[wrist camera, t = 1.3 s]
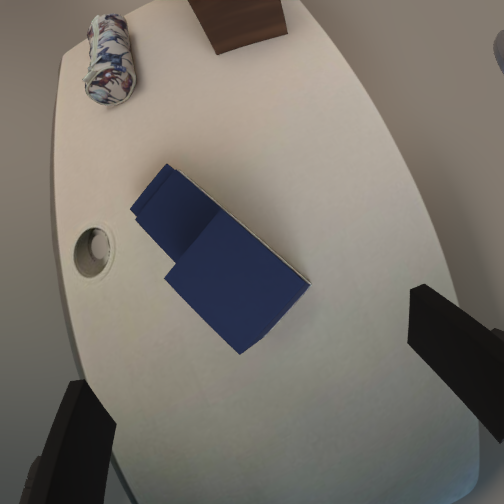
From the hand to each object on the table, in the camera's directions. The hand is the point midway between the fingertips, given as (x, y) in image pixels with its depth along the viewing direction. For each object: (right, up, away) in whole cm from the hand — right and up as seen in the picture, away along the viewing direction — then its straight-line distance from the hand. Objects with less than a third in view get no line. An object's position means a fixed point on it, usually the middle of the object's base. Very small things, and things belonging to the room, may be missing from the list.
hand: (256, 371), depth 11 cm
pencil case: (-25, +40, +36) cm, 59 cm away
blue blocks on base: (-4, +5, +27) cm, 27 cm away
